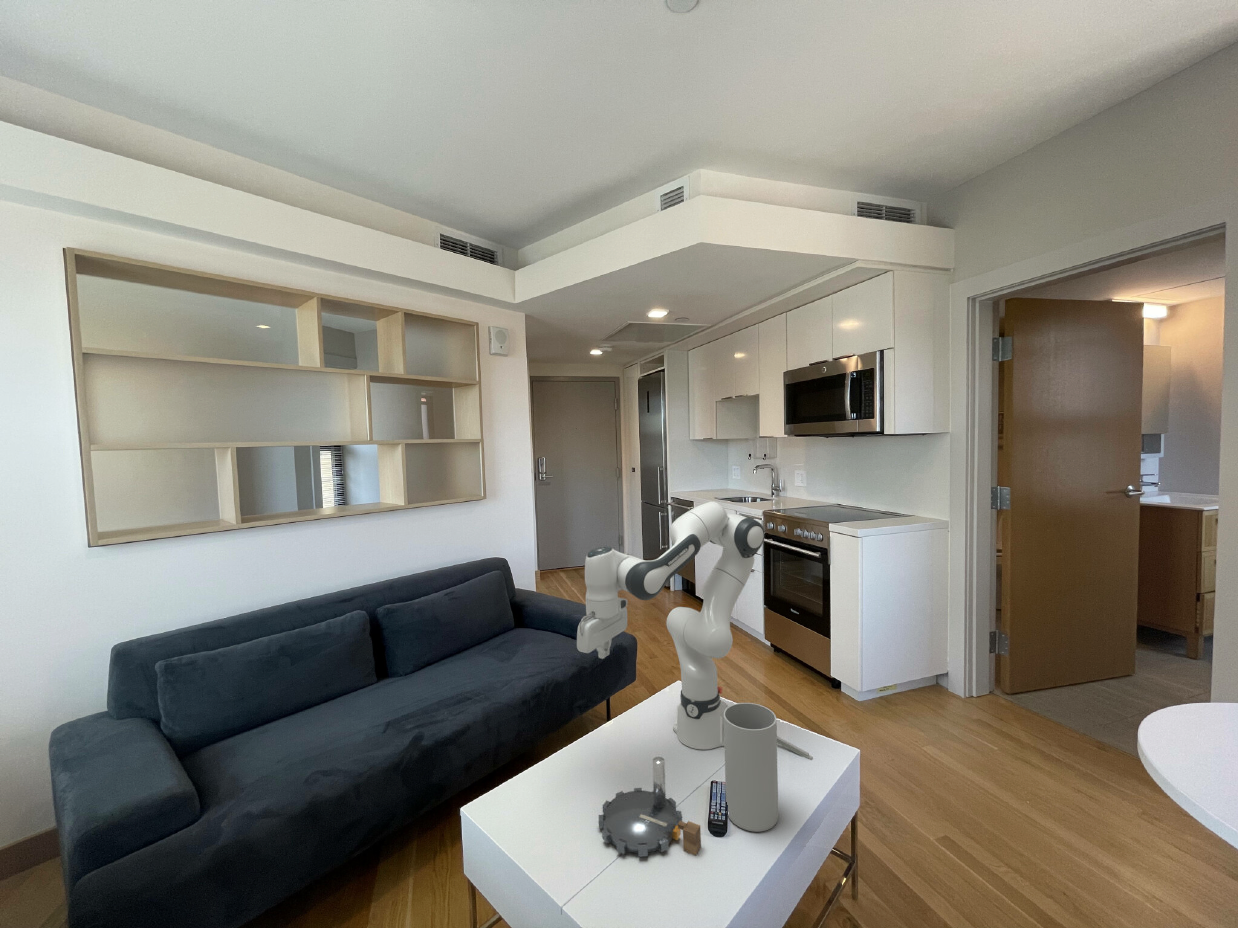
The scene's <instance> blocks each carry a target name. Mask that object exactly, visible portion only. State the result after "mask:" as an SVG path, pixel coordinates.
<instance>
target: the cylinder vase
mask: <svg viewBox="0 0 1238 928" xmlns="http://www.w3.org/2000/svg"><path fill="white" fill-rule="evenodd" d="M777 727H778V726H777V716H776V714H775V712H774V711H773V710H771V709H770V708H768V707H766V706H763V705H761V704H758V703H752V702H738V703H734V704H731V705H728V707H727V708H726V709H725V711H724V746H723V747H724V775H725V776H724V777H725V778H724V779H725V780H724V781H725V803H726V802H727V805H728V812H729V817H728V818H729V820H731V822H732V823H733V824H734V825H736V826H737V827H738V828H740V829H743V830H745V831H748V832H756V833H759V832H766V831H768V830H770V829H772V828H773V827H775V825H776V824H777V822H778V820H779V783H778V782H779V779H778V777H779V775H778V773H779V772H778V747H777V746H778V743H777V735H778V732H777Z"/></svg>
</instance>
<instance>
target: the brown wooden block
mask: <svg viewBox="0 0 1238 928" xmlns="http://www.w3.org/2000/svg"><path fill="white" fill-rule="evenodd" d="M678 829H681V831H682V841H683V842H682V844H683V845H682V846H683V847H682V848H683V849H682V850H683V851H684V852H686V853H688V854H691V855H692V856H697V855H698V853H699V851H700V849H701V847H702V836H701V835H702V833H701V825H700V824H697V823H695V822H692V821H690V820H688V821H687V822H685V821H683V820H682V821H679V823H678Z"/></svg>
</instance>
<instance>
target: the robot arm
mask: <svg viewBox="0 0 1238 928" xmlns="http://www.w3.org/2000/svg"><path fill="white" fill-rule="evenodd" d="M669 535H670V539H671V542H672V545H673V546H671V547H670V548H669V549H667V551H665V552H664V553H663V554H662V555H660V556H658V558H656V559H653V560H644V559H643V558H639V557H637V556H634V555H631V554H626V553H622V552H620V551H617V550H616V549H614V548H613V547H611V546H605V545H604V546H599V547H595V548H593V549H591V550H590V551H588V552H587V554H586V556H585V559H584V561H585V562H584V584H585V587H586V592H585V613H586V615H583V617H582V618H581V620H580V622H579V624H578V626H577V633H576V648H577V650H578V651H579V652H581V653H585V654H590V653H591V652H592V651H595V650H596V651H597V652H598V654H597V655H598V659H602V660H603V659H605V658H606V657H608V656H609V655H610V649H611V645H612V642H613V641H612V639H613V638H615V637H616V636H618V635H619V634H621V633H622V632H624V631H625V630H627V627H628V608H627V606H628V599H626V598H623V597H619V595H618V594H619V591H625V592H627V593H629V594H631V595H632V596H634V597H635V598H637V599H638V600H641V601H650V600H652V599H654V598H656V597H657V596H658V595H659V594H660V593H661V592H662V590H663V589H664V587H665V586H666V584H667V583H668V582H669V581H670V580H671V579H672V578H673V577H674V576H675V575H676V574H678V573H679V572H680V571H681V570H682V569H683V568H685V567H686V565H687V564H689V563H690V562H691V561H692V560H693V559H694V558H695V557H696V556H697V555H698V554H699V552H700V550H701V548H702V547H704V545H706V544H708V543H709V542H710V543H711V544H714V545H717V546H720V547H722V553H721V556H720V557H719V559H718V560H717V562H716V563H715V565H714V567H713V568H712V570H711V572H710V573H709V575H708V576H707V579H706V580H705V581H704V584H703V585H702V587H701V596H702V597H703V603H702V607H701V610H700V611H699V610H696V609H694V608H691V607H686V606H685V607H684V606H677V607H675V608H673V609H672V610H671V611H670V612H669V614H668V616H667V618H666V629H667V631H668V632H669V635H670V636H671V638H672V640H673V644H674V647H675V650H676V653H677V658H678V660H679V661H678V662H679V666H680V679H681V690H680V694H679V695H680V697H679V699H680V703H679V704H678V705H677V708H676V709H677V710H676V711H677V712H676V723H675V724H674V725H673V726H672V728H673V729H672V730H673V731H674V733H676V734H677V738H678V740H679V741H680V742H681V744H683V745H685V746H687V747H688V748H691V749H694V750H695V749H696V750H712V749H716V748H719V747H724V711H725V709H726V708H727V707H729V705H728V704H727V703H726V702H724V701H723V700H721V695H720V694H722V693H723V687H722V686H718V669H717V665H716V662H715V661H714V660H713V659H722V658H724V657H726V656H727V654H729V652H730V650H731V649H732V647H733V642H734V639H733V634H732V630H731V619H732V614H733V610H734V608H735V605H736V603H737V601H738V599H739V597H740V595H741V593H742V592H743V589H744V588H745V586H746V584H747V582H748V580H749V578H750V576H751V572H752V570H753V568H754V565H755V557H754V556H755V555H756V554H757V553H758V552H759V550H760V549H761V547H762V545H763V543H764V541H765V535H766V534H765V528H764V526H763V525H762V523H760V522H759V521H757V520H756V519H754V518H753V517H752V518H751V517H746V516H744V515H740V514H735V513H727V511H726V509H725V508H724V507H723V506H722V505H721V504H720V503H718V502H716V501H708V502H704V503H702V504H700V505H698V506H697V505H696V506H694V507H693V508H692V509H689V510H688V511H687V512H685V513H683V514H681V516H679V517H677V518H676V519H675V520H674V521H673V522H672V523H671V526H670V530H669Z"/></svg>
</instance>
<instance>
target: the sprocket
mask: <svg viewBox="0 0 1238 928" xmlns="http://www.w3.org/2000/svg"><path fill="white" fill-rule="evenodd" d="M665 761H666V760H665V758H664V757H662V756H655V757H653V758H652V783H653V785H652V787H653V788H652V789H653V790H652V791H649V790H643V787H634V788H633V790H632V791H627V792H624V791H622V790H620V791H618V792H617V793H615V797H614V798H612V800H610V801H609V800H605V802H604V803H603V804H602V814H599V815H598V828H599V829H602V830H601V834H602V835H601V838H602V840H603V841H604V842H605V843H606V845H607V844H609V843H611V844H613V845H614V846H615V847H616V852H618V853H621V854H622V855H625V854H626V853H627V852H630V853H637V855H638V857H649V856H648V854H649V853H651V852H654V851H657V850H658V851H660V852H661V853H663V852H666V850H669V843H671V842H672V841H673V840H675V841H678V840H679V838H680V836H681V831H682V830H681V829H678V823H679V821H682V822H683V814H682V811H681V810H677V802H676V801H675V799H673V797H669V798H667V793H666V791H667V790H666V766H665V765H666V764H665V763H666V762H665Z"/></svg>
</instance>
